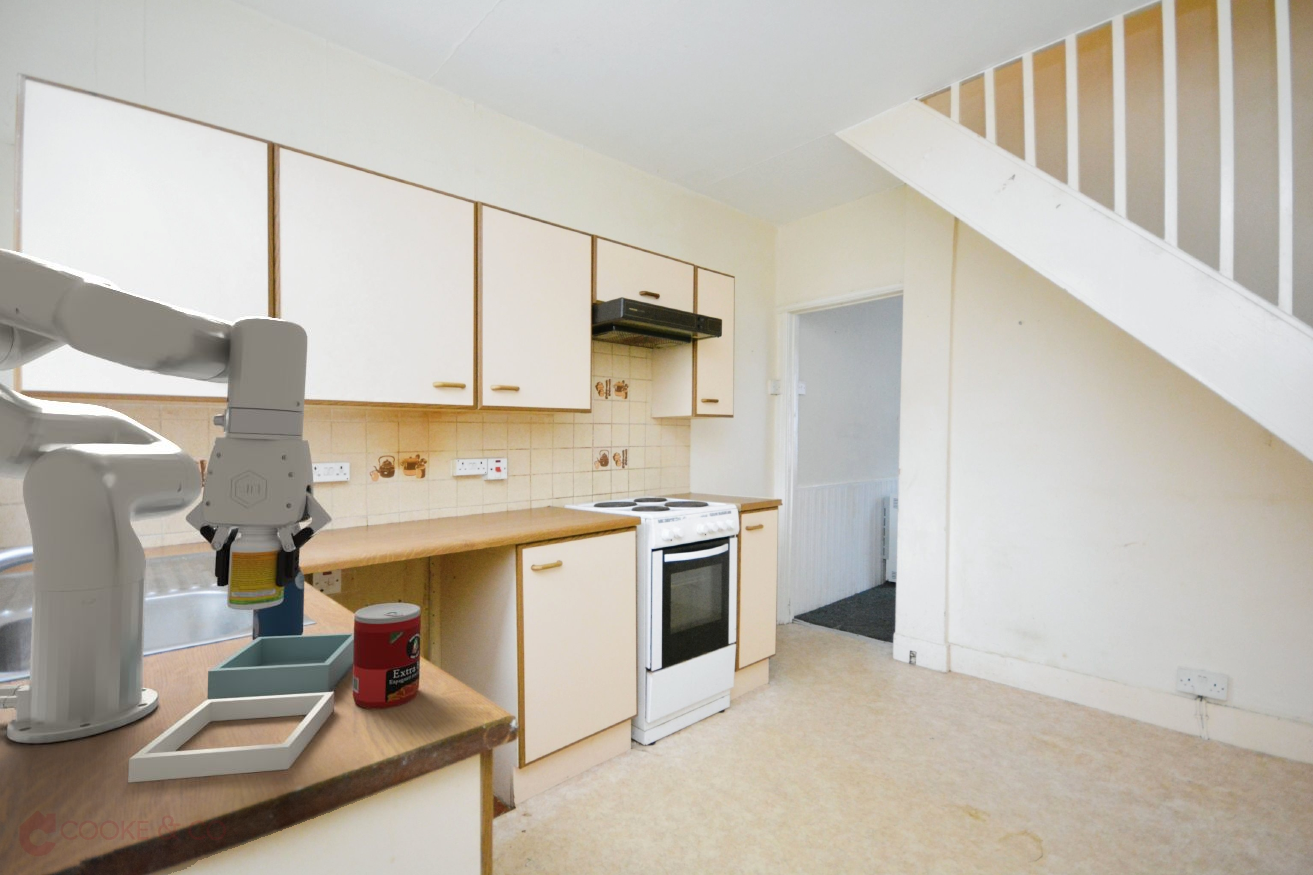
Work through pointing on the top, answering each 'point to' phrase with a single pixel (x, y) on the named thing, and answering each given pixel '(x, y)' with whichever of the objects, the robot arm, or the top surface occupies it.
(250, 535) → the supplement bottle
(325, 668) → the teal bin
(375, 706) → the canned food
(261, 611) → the soda can
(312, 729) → the white frame
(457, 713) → the top surface
